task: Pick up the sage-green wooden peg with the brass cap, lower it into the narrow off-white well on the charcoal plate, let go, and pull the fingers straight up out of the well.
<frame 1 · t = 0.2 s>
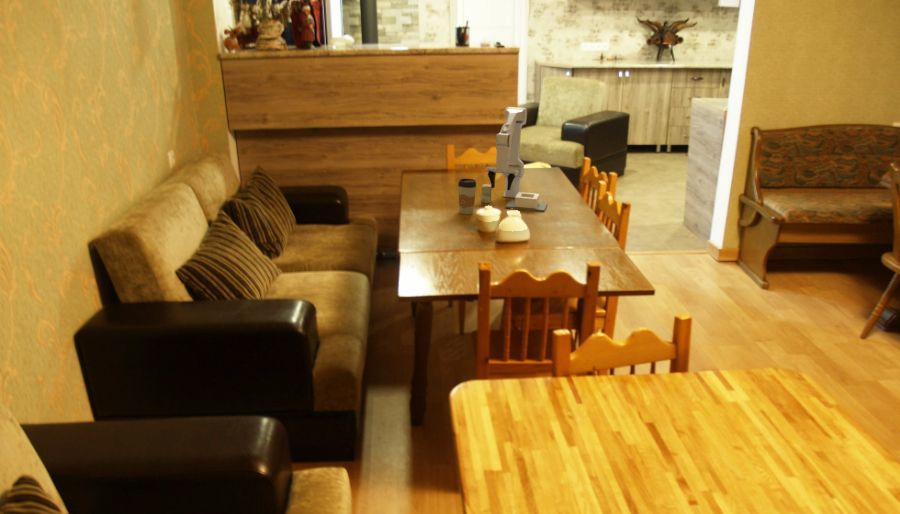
hand: (500, 188, 317), 10 cm above the table, tool pointing down, fingers open, 7 cm apart
peg: (486, 201, 333), on the table
well: (526, 206, 327), on the table
coffee cup: (466, 212, 315), on the table
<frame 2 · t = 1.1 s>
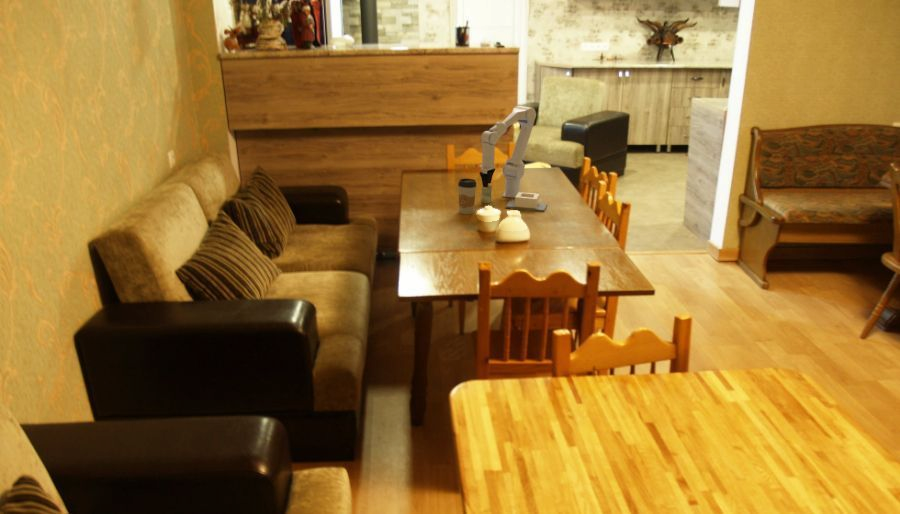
hand: (486, 185, 330), 8 cm above the table, tool pointing down, fingers open, 7 cm apart
nothing on the table moved.
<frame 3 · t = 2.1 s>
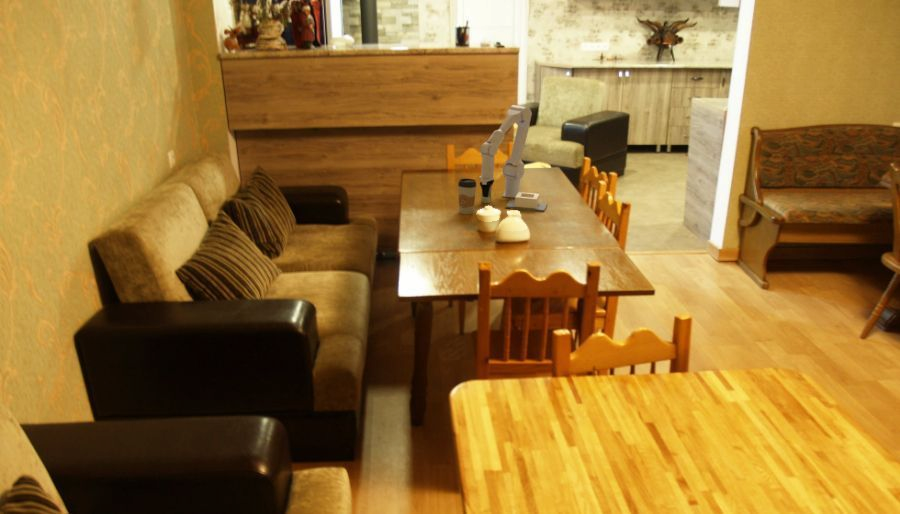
hand: (486, 195, 332), 3 cm above the table, tool pointing down, fingers closed on peg, 4 cm apart
peg: (486, 201, 333), on the table, touching gripper
everything else where it was.
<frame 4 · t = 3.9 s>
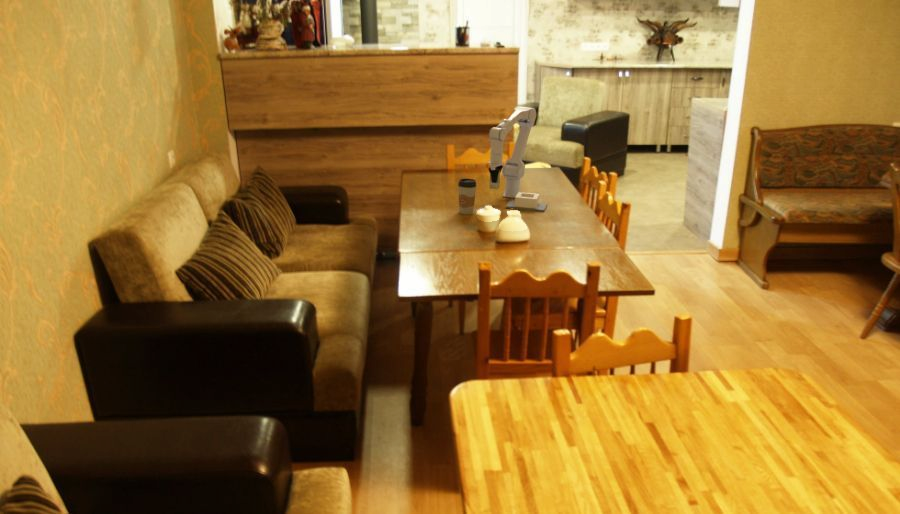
hand: (495, 181, 328), 10 cm above the table, tool pointing down, fingers closed on peg, 4 cm apart
peg: (494, 187, 329), point 7 cm above the table, touching gripper
everything else where it was.
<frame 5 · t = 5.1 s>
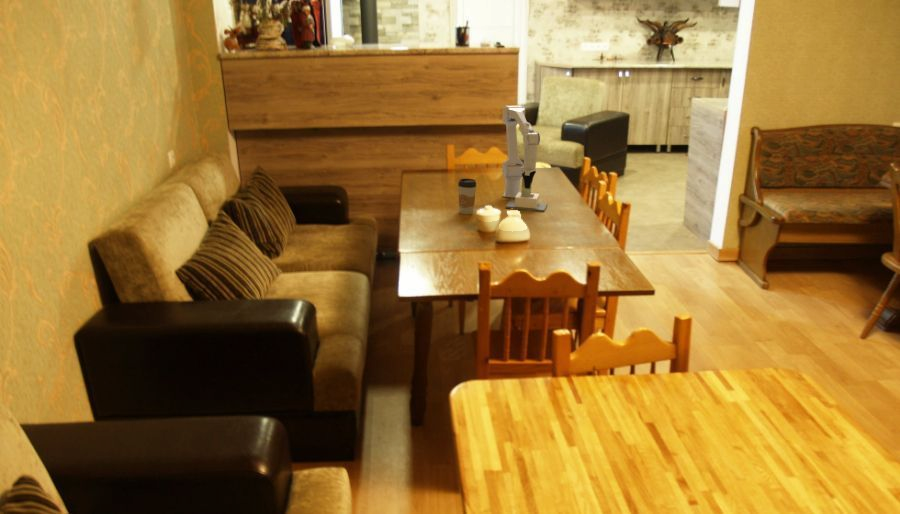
hand: (528, 187, 323), 10 cm above the table, tool pointing down, fingers closed on peg, 4 cm apart
peg: (526, 193, 325), point 6 cm above the table, touching gripper
everything else where it was.
when the fingers open (6 cm above the table, at t = 6.0 s): peg drops 2 cm, resting on well.
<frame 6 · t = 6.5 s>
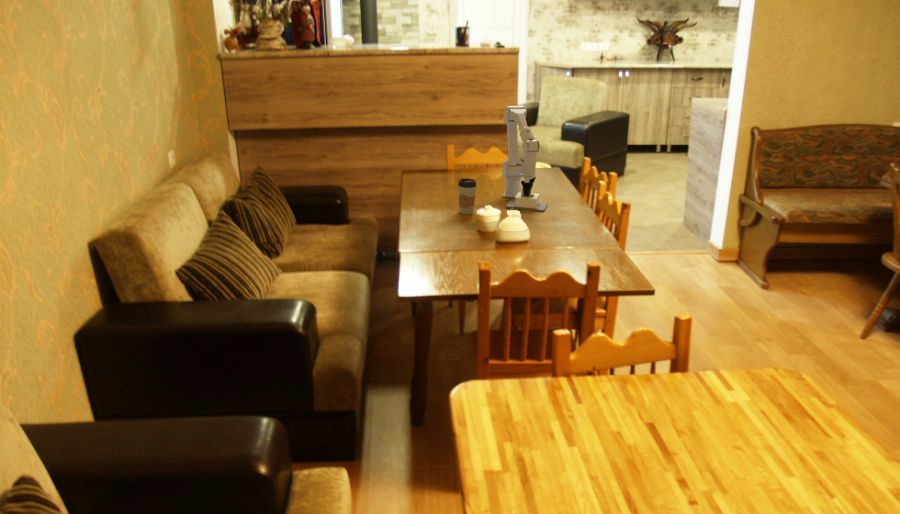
hand: (527, 194, 324), 6 cm above the table, tool pointing down, fingers open, 7 cm apart
peg: (525, 204, 326), point 1 cm above the table, touching well
everything else where it was.
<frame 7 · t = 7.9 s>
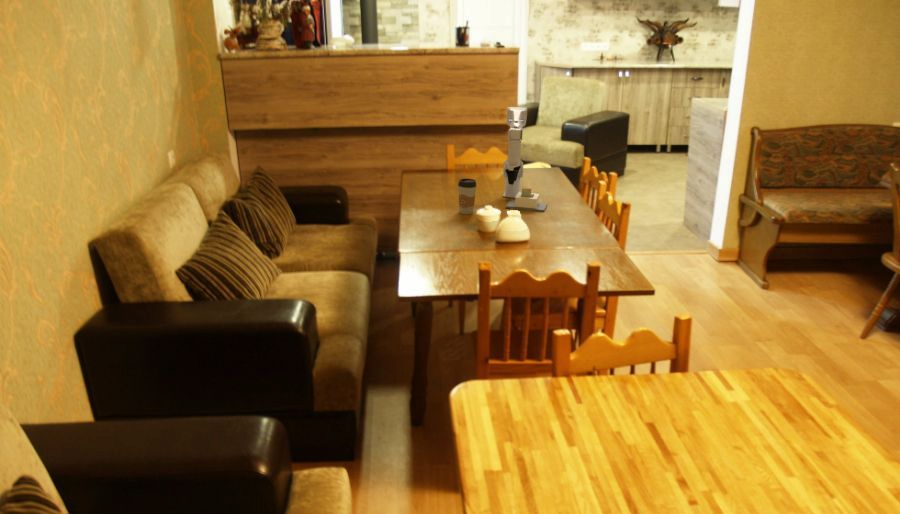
hand: (512, 182, 327), 10 cm above the table, tool pointing down, fingers open, 7 cm apart
nothing on the table moved.
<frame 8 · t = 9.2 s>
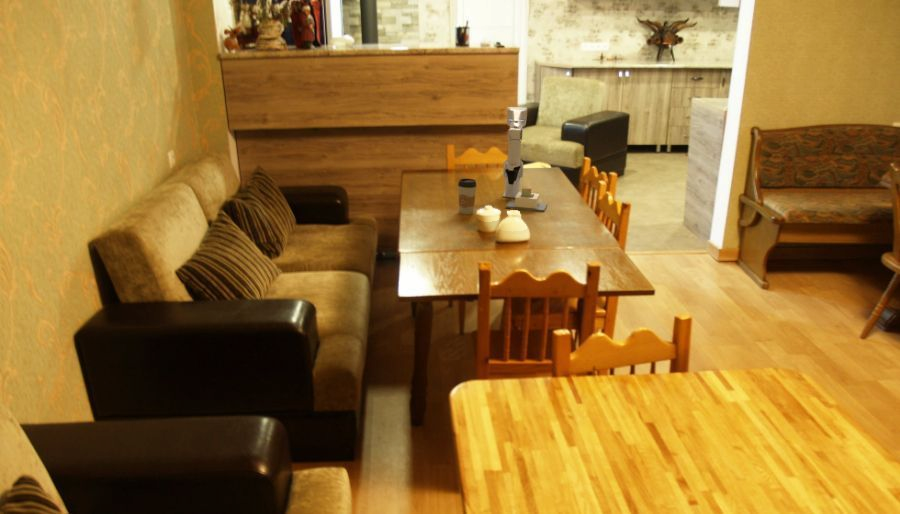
hand: (512, 182, 327), 10 cm above the table, tool pointing down, fingers open, 7 cm apart
nothing on the table moved.
at the end: peg 0.6 cm off-centre on the well, point 1.0 cm above the well's base; peg tilted 0°; the gripper is holding nothing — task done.
